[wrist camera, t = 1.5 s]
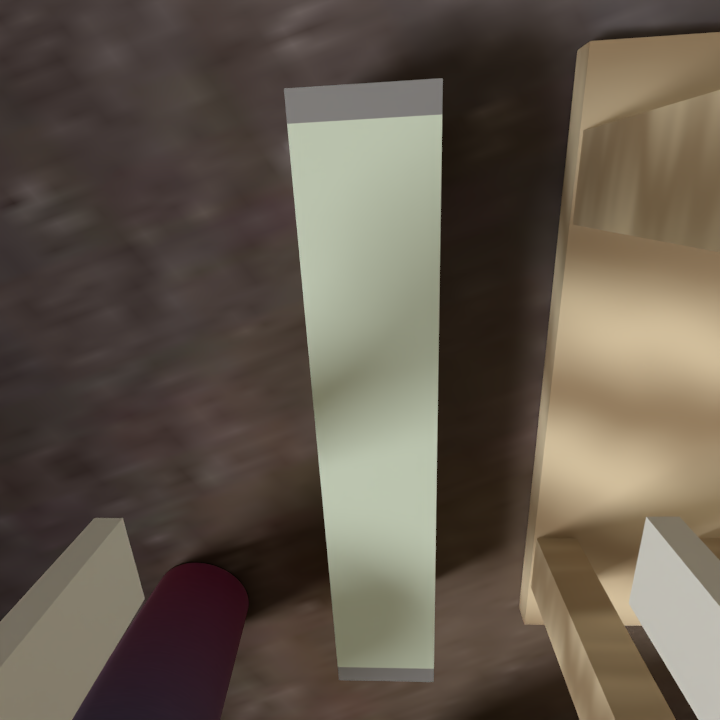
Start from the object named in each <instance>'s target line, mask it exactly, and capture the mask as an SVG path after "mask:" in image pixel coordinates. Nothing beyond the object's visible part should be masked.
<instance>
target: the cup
mask: <svg viewBox="0 0 720 720" xmlns="http://www.w3.org/2000/svg"><path fill="white" fill-rule="evenodd" d="M248 607H249V599H248V595H247V592H246V590H245V588H244V587H243V585H242V584H241V583H240V581H239V580H238V579H237V578H236V577H234V576H233V575H232V574H231V573H229V572H227V571H226V570H224V569H222V568H219V567H217V566H214V565H210V564H206V563H186V564H182V565H179V566H177V567H174V568H172V569H171V570H170V571H168V572H167V573H166V574H165V575H164V576H163V578H162V579H161V580H160V582H159V583H158V585H157V586H156V588H155V589H154V591H153V592H152V594H151V595H150V597H149V599H148V600H147V602H146V603H145V605H144V606H143V608H142V609H141V611H140V612H139V614H138V615H137V617H136V618H135V620H134V621H133V623H132V624H131V626H130V627H129V629H128V630H127V632H126V633H125V635H124V636H123V638H122V639H121V641H120V642H119V644H118V645H117V647H116V648H115V650H114V651H113V653H112V654H111V656H110V657H109V659H108V661H107V662H106V664H105V666H104V667H103V669H102V671H101V672H100V674H99V676H98V677H97V679H96V681H95V682H94V684H93V686H92V687H91V689H90V691H89V692H88V694H87V696H86V697H85V699H84V701H83V702H82V704H81V706H80V707H79V709H78V711H77V712H76V714H75V715H74V717H73V719H72V720H220V718H221V714H222V710H223V706H224V702H225V698H226V694H227V690H228V686H229V682H230V678H231V674H232V670H233V666H234V662H235V658H236V655H237V651H238V647H239V643H240V639H241V635H242V631H243V627H244V623H245V619H246V615H247V611H248Z"/></svg>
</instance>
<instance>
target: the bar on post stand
mask: <svg viewBox="0 0 720 720" xmlns="http://www.w3.org/2000/svg"><path fill="white" fill-rule="evenodd" d="M646 517H680V518H681V519H682V520H683V521H684V522H685V523H686V524H687V525H688V526H689V527H690V529H691V530H692V531H693V532H694V533H695V534H696V535H697V536H698V537H699V538H700V539H701V540H702V542H703V543H704V544H705V545H706V546H707V547H708V548H709V549H710V550H711V551H712V552H713V553H714V555H715V556H716V557H717V558H718V559H719V560H720V32H713V33H699V34H684V35H670V36H656V37H641V38H627V39H613V40H599V41H590V42H588V43H587V44H586V45H584V46H583V47H581V48H580V49H579V50H577V59H576V69H575V78H574V88H573V97H572V107H571V116H570V126H569V135H568V145H567V154H566V164H565V174H564V183H563V193H562V202H561V212H560V221H559V231H558V240H557V250H556V259H555V269H554V279H553V288H552V298H551V307H550V317H549V326H548V336H547V345H546V355H545V364H544V374H543V384H542V393H541V403H540V412H539V422H538V431H537V441H536V450H535V460H534V469H533V479H532V489H531V498H530V508H529V517H528V527H527V536H526V546H525V555H524V565H523V575H522V584H521V594H520V603H519V609H520V612H521V615H522V618H523V621H524V624H537V625H545V627H546V630H547V632H548V635H549V638H550V641H551V643H552V646H553V649H554V651H555V654H556V657H557V660H558V662H559V665H560V668H561V670H562V673H563V676H564V679H565V681H566V684H567V687H568V690H569V692H570V695H571V698H572V700H573V703H574V706H575V709H576V711H577V714H578V717H579V719H580V720H676V719H675V717H674V715H673V713H672V712H671V710H670V708H669V706H668V704H667V702H666V701H665V699H664V697H663V695H662V693H661V692H660V690H659V688H658V686H657V684H656V682H655V681H654V679H653V677H652V675H651V673H650V672H649V670H648V668H647V666H646V664H645V662H644V661H643V659H642V657H641V655H640V653H639V651H638V650H637V648H636V646H635V644H634V642H633V641H632V639H631V637H630V635H629V633H628V631H627V630H626V628H625V626H642V625H641V623H640V621H639V620H638V618H637V616H636V615H635V613H634V611H633V610H632V608H631V606H630V605H629V599H630V594H631V589H632V584H633V579H634V574H635V569H636V564H637V559H638V554H639V550H640V545H641V540H642V535H643V530H644V525H645V520H646Z"/></svg>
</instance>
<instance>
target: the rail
mask: <svg viewBox="0 0 720 720" xmlns="http://www.w3.org/2000/svg"><path fill="white" fill-rule="evenodd" d="M284 94H285V105H286V116H287V126H288V137H289V148H290V159H291V169H292V180H293V191H294V201H295V212H296V223H297V234H298V244H299V255H300V266H301V276H302V287H303V298H304V309H305V319H306V330H307V341H308V352H309V362H310V373H311V384H312V394H313V405H314V416H315V427H316V437H317V448H318V459H319V469H320V480H321V491H322V502H323V512H324V523H325V534H326V544H327V555H328V566H329V577H330V587H331V598H332V609H333V620H334V630H335V641H336V652H337V662H338V673H339V680H360V681H412V682H434V624H435V559H436V494H437V428H438V363H439V298H440V233H441V167H442V102H443V78H437V79H422V80H407V81H392V82H376V83H361V84H346V85H331V86H316V87H301V88H286V89H284Z"/></svg>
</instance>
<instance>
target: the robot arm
mask: <svg viewBox="0 0 720 720" xmlns="http://www.w3.org/2000/svg"><path fill="white" fill-rule="evenodd" d="M144 599H145V598H144V594H143V591H142V587H141V583H140V580H139V576H138V572H137V569H136V565H135V561H134V558H133V554H132V550H131V547H130V543H129V539H128V536H127V532H126V528H125V525H124V521H123V518H94V519H93V520H92V521H91V523H90V524H89V525H88V526H87V527H86V528H85V529H84V530H83V531H82V532H81V534H80V535H79V536H78V537H77V538H76V539H75V540H74V541H73V542H72V543H71V545H70V546H69V547H68V548H67V549H66V550H65V551H64V552H63V553H62V554H61V556H60V557H59V558H58V559H57V560H56V561H55V562H54V563H53V564H52V565H51V567H50V568H49V569H48V570H47V571H46V572H45V573H44V574H43V575H42V577H41V578H40V579H39V580H38V581H37V582H36V583H35V584H34V585H33V586H32V588H31V589H30V590H29V591H28V592H27V593H26V594H25V595H24V596H23V597H22V599H21V600H20V601H19V602H18V603H17V604H16V605H15V606H14V607H13V608H12V610H11V611H10V612H9V613H8V614H7V615H6V616H5V617H4V618H3V619H2V621H1V622H0V720H72V719H73V717H74V715H75V714H76V712H77V711H78V709H79V707H80V706H81V704H82V702H83V701H84V699H85V697H86V696H87V694H88V692H89V691H90V689H91V687H92V686H93V684H94V682H95V681H96V679H97V677H98V676H99V674H100V672H101V671H102V669H103V667H104V666H105V664H106V662H107V661H108V659H109V657H110V656H111V654H112V652H113V651H114V649H115V647H116V646H117V644H118V642H119V641H120V639H121V637H122V636H123V634H124V632H125V631H126V629H127V627H128V626H129V624H130V622H131V621H132V619H133V617H134V616H135V614H136V612H137V611H138V609H139V607H140V606H141V604H142V602H143V601H144ZM629 605H630V606H631V608H632V610H633V611H634V613H635V615H636V616H637V618H638V620H639V621H640V623H641V625H642V626H643V628H644V630H645V631H646V633H647V635H648V636H649V638H650V640H651V641H652V643H653V645H654V646H655V648H656V650H657V651H658V653H659V655H660V656H661V658H662V660H663V661H664V663H665V665H666V666H667V668H668V670H669V671H670V673H671V675H672V676H673V678H674V680H675V681H676V683H677V685H678V686H679V688H680V690H681V691H682V693H683V695H684V696H685V698H686V700H687V701H688V703H689V705H690V706H691V708H692V710H693V711H694V713H695V715H696V716H697V718H698V720H720V560H719V559H718V558H717V557H716V556H715V555H714V553H713V552H712V551H711V550H710V549H709V548H708V547H707V546H706V545H705V544H704V543H703V542H702V540H701V539H700V538H699V537H698V536H697V535H696V534H695V533H694V532H693V531H692V530H691V529H690V527H689V526H688V525H687V524H686V523H685V522H684V521H683V520H682V519H681V518H680V517H646V520H645V525H644V530H643V535H642V540H641V545H640V550H639V554H638V559H637V564H636V569H635V574H634V579H633V584H632V589H631V594H630V599H629Z"/></svg>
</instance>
